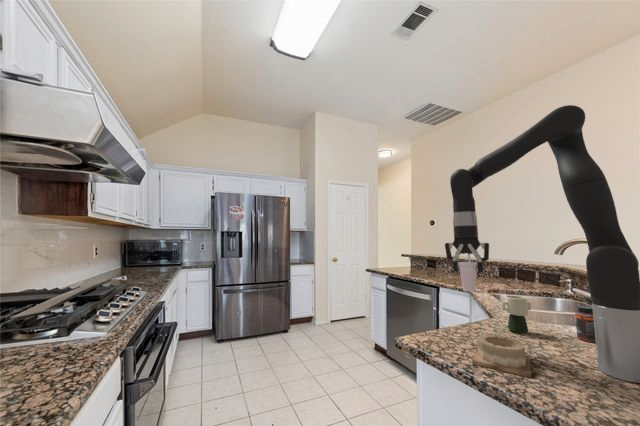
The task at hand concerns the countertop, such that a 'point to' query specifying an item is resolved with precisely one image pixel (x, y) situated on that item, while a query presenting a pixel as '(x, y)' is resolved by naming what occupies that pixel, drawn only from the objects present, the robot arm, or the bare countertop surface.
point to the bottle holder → (502, 355)
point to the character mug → (517, 312)
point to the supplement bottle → (585, 324)
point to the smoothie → (468, 275)
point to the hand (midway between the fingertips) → (468, 272)
